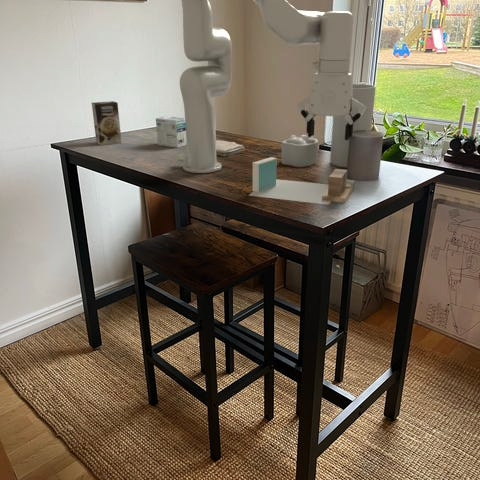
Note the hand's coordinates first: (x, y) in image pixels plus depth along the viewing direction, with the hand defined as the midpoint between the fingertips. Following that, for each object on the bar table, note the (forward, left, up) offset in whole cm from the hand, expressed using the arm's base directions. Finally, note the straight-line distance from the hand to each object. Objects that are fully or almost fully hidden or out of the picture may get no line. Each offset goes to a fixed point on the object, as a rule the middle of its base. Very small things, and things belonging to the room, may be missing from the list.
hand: (328, 137), depth 123 cm
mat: (-8, 0, -16) cm, 18 cm away
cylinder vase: (0, +36, -16) cm, 40 cm away
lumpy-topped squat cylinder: (-16, +34, -16) cm, 41 cm away
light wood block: (+3, +3, -14) cm, 15 cm away
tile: (-17, -1, -15) cm, 23 cm away
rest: (+3, +1, -16) cm, 16 cm away
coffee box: (-98, +37, -16) cm, 106 cm away
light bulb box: (-71, +42, -16) cm, 84 cm away
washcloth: (-50, +40, -17) cm, 66 cm away
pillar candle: (+7, +20, -16) cm, 27 cm away
